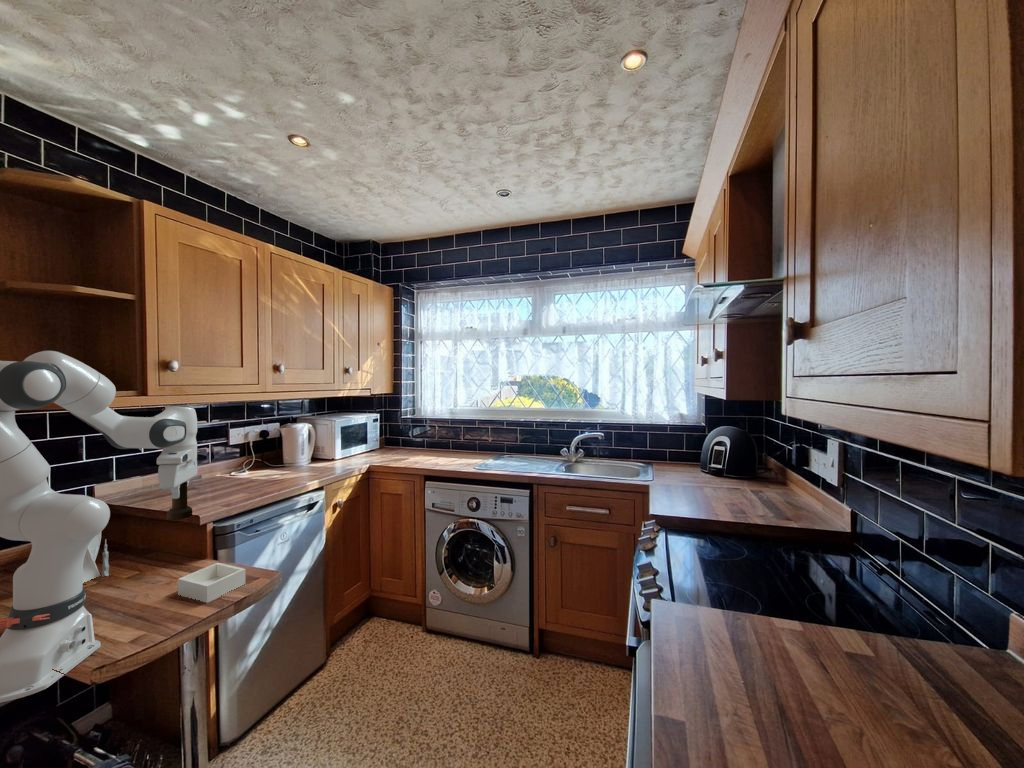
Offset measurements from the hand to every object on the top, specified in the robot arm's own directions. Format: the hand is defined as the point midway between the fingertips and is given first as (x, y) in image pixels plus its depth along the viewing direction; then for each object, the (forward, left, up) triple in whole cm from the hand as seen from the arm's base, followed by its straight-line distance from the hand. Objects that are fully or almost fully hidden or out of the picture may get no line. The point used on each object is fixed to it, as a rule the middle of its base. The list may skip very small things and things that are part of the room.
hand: (179, 496), depth 134 cm
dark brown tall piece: (0, 0, -7) cm, 7 cm away
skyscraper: (+11, +29, -29) cm, 42 cm away
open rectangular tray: (-10, -12, -28) cm, 32 cm away
